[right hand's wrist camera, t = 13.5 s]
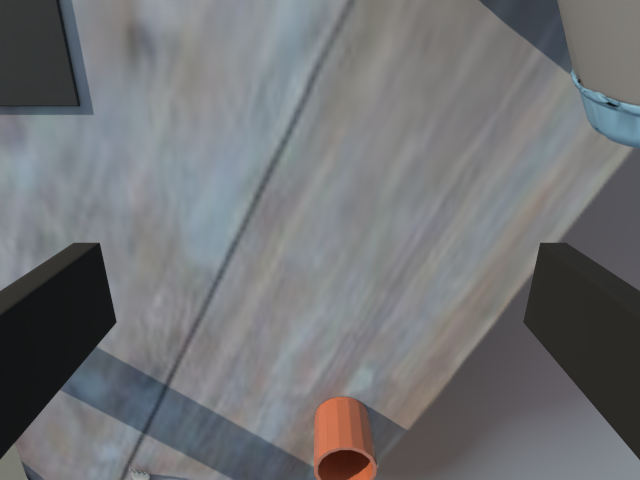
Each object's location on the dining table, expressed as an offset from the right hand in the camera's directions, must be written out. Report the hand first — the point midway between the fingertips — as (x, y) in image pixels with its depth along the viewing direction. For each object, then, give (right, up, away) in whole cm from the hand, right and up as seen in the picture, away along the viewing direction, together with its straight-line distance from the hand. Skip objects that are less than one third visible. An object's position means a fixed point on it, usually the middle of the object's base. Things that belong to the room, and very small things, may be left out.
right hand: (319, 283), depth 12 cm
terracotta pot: (+3, -23, +43) cm, 49 cm away
